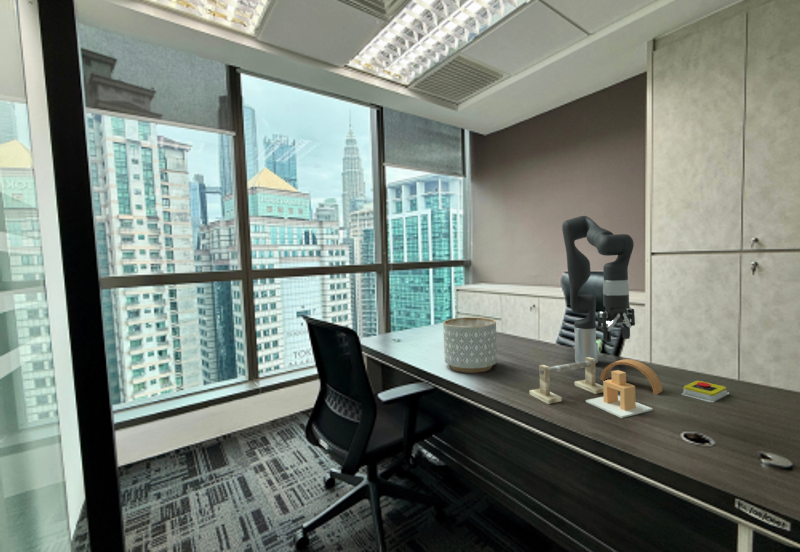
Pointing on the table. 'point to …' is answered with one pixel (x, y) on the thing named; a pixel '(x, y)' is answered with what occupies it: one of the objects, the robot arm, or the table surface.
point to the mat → (618, 407)
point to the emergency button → (705, 391)
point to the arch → (641, 367)
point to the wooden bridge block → (620, 385)
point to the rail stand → (585, 384)
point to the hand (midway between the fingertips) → (616, 340)
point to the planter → (470, 344)
